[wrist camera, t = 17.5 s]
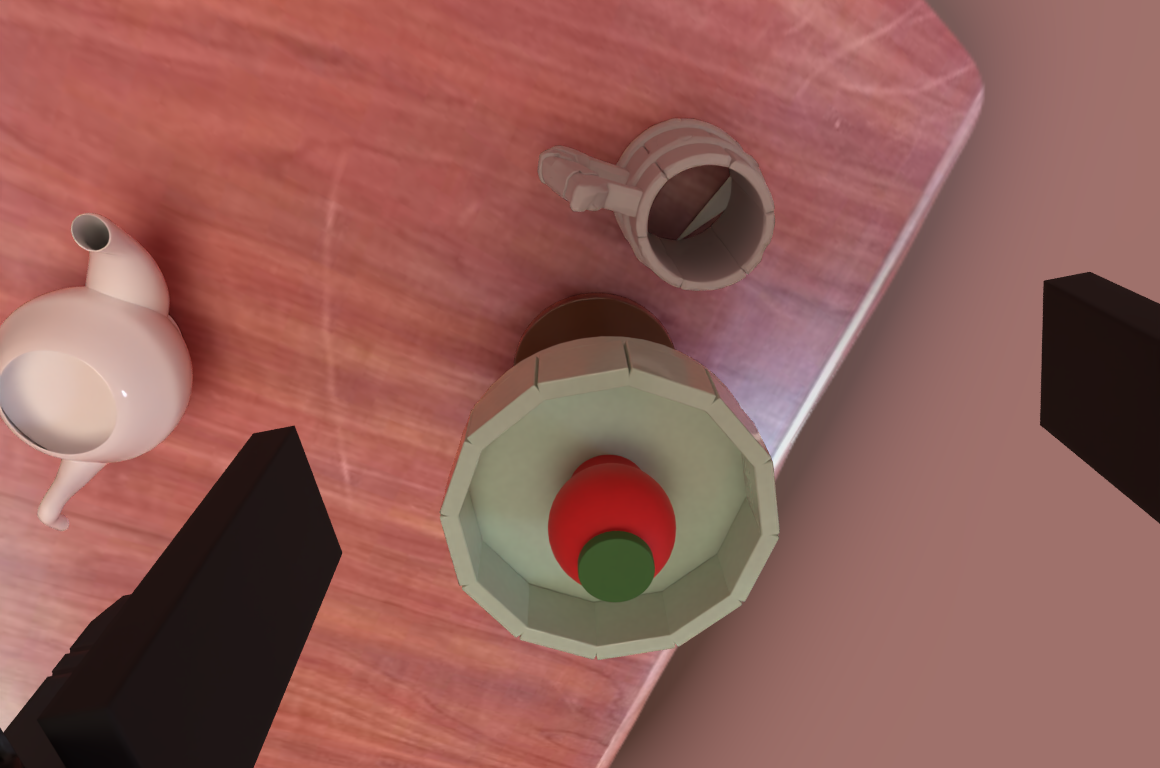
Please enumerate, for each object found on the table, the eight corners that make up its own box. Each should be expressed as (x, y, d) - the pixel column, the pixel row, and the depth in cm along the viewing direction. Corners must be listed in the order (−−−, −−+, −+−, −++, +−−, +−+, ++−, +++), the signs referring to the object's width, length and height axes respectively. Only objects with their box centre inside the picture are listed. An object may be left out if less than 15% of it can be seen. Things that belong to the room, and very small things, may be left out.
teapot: (35, 450, 52) (-68, 533, 43) (91, 146, 45) (-19, 174, 36) (188, 499, 54) (118, 588, 45) (266, 213, 46) (200, 255, 38)
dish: (694, 239, 48) (761, 344, 32) (721, 451, 53) (789, 630, 37) (456, 282, 48) (406, 405, 32) (507, 487, 54) (485, 678, 38)
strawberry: (657, 426, 37) (676, 501, 31) (673, 528, 39) (694, 616, 33) (538, 447, 37) (534, 524, 31) (560, 546, 39) (561, 636, 33)
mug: (720, 268, 48) (767, 339, 37) (523, 215, 47) (511, 273, 36) (766, 137, 45) (832, 172, 34) (557, 76, 44) (556, 93, 33)
